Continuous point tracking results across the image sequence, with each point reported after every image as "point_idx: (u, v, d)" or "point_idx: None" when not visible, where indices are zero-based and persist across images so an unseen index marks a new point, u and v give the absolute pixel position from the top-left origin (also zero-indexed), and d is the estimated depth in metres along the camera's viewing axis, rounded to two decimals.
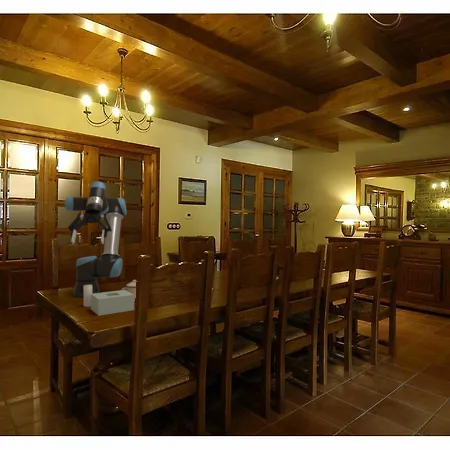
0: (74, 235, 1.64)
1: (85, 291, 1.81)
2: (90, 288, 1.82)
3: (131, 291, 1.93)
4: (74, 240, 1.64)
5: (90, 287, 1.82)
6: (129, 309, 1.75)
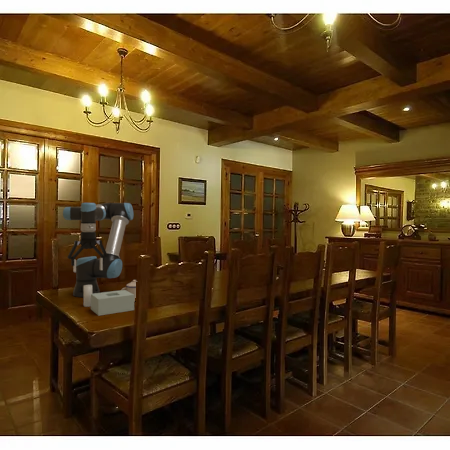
0: (75, 265, 1.78)
1: (85, 291, 1.81)
2: (90, 288, 1.82)
3: (131, 291, 1.93)
4: None
5: (90, 287, 1.82)
6: (129, 309, 1.75)
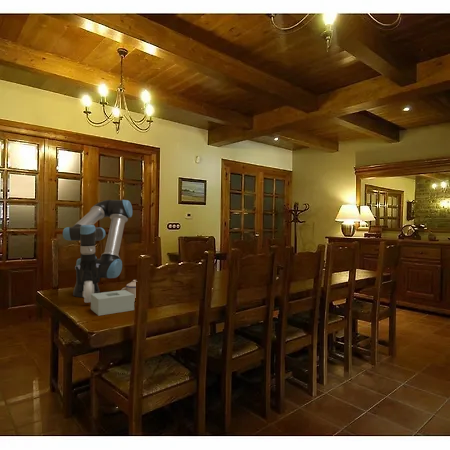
0: None
1: (85, 287, 1.82)
2: (90, 284, 1.83)
3: (131, 291, 1.93)
4: None
5: (90, 283, 1.83)
6: (129, 309, 1.75)
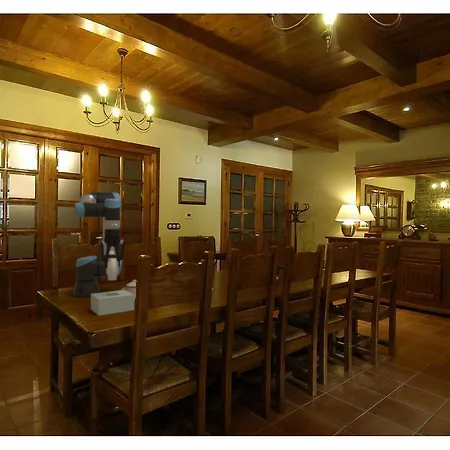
0: (108, 267, 1.74)
1: (109, 264, 1.74)
2: (114, 261, 1.75)
3: (131, 291, 1.93)
4: None
5: (114, 260, 1.75)
6: (129, 309, 1.75)
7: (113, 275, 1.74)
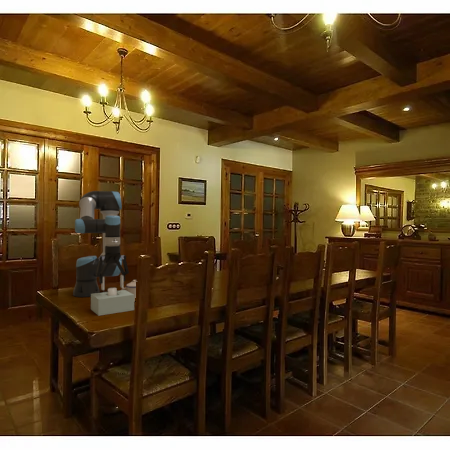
0: None
1: (110, 294, 1.74)
2: (115, 291, 1.75)
3: (131, 291, 1.93)
4: None
5: (115, 290, 1.75)
6: (129, 309, 1.75)
7: None
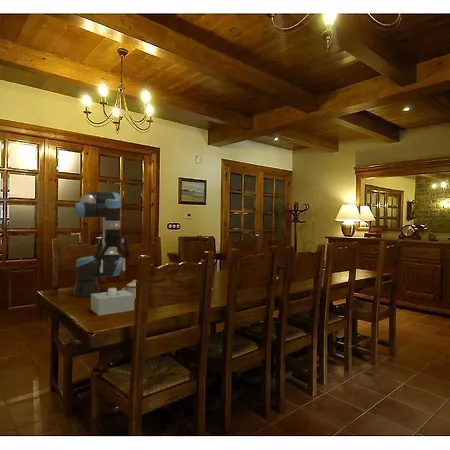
0: None
1: (110, 294, 1.74)
2: (115, 291, 1.75)
3: (131, 291, 1.93)
4: None
5: (115, 290, 1.75)
6: (129, 309, 1.75)
7: None
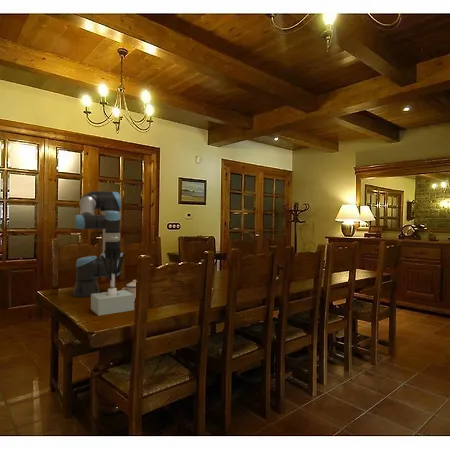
0: None
1: (110, 294, 1.74)
2: (115, 291, 1.75)
3: (131, 291, 1.93)
4: None
5: (115, 290, 1.75)
6: (129, 309, 1.75)
7: None
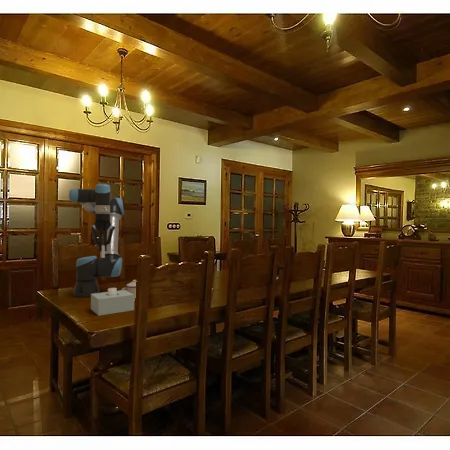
0: None
1: (110, 294, 1.74)
2: (115, 291, 1.75)
3: (131, 291, 1.93)
4: None
5: (115, 290, 1.75)
6: (129, 309, 1.75)
7: None
